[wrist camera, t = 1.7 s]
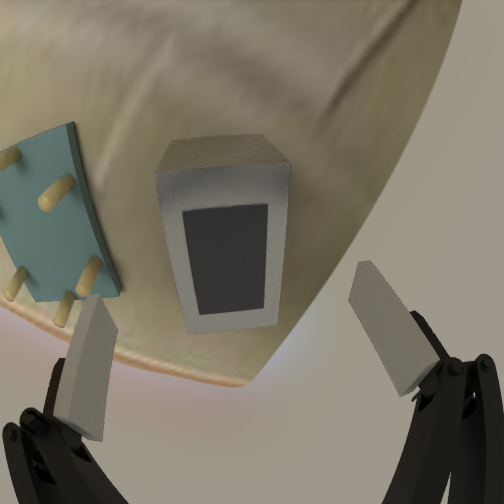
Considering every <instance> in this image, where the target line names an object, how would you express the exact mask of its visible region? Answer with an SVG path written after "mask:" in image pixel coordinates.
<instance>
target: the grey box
mask: <svg viewBox="0 0 504 504" xmlns="http://www.w3.org/2000/svg"><path fill="white" fill-rule="evenodd" d="M290 167H291V163H290V162H289V161H288V160H287V159H286V158H285V157H284V156H283V155H282V154H281V153H280V152H279V151H278V150H277V149H276V148H275V147H274V146H273V145H272V144H271V143H270V142H269V141H268V140H267V139H266V138H265V137H264V136H263V135H262V134H250V135H227V136H212V137H199V138H189V139H179V140H172V141H171V143H170V145H169V146H168V148H167V150H166V152H165V154H164V156H163V158H162V160H161V161H160V163H159V165H158V167H157V169H156V171H155V179H156V185H157V192H158V198H159V204H160V210H161V216H162V221H163V227H164V232H165V237H166V242H167V247H168V252H169V257H170V261H171V266H172V270H173V275H174V279H175V283H176V287H177V292H178V296H179V300H180V304H181V307H182V311H183V315H184V319H185V323H186V326H187V330H188V333H189V335H190V334H202V333H213V332H224V331H233V330H242V329H250V328H258V327H266V326H273V325H277V321H278V312H279V302H280V293H281V282H282V272H283V261H284V250H285V238H286V225H287V212H288V198H289V184H290Z"/></svg>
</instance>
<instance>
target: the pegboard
mask: <svg viewBox="0 0 504 504" xmlns="http://www.w3.org/2000/svg"><path fill="white" fill-rule="evenodd" d="M0 235H1V237H2V240H3V242H4V244H5V246H6V248H7V251H8V253H9V255H10V257H11V259H12V261H13V263H14V265H15V267H16V269H17V271H16V273H15V274H14V276H13V278H12V279H11V281H10V283H9V284H8V286H7V288H6V289H5V291H4V293H3V294H4V297H5V298H6V299H7V300H8V301H10V302H13V301H14V299H15V297H16V295H17V293H18V291H19V289H20V288H21V286H22V284H23V282H24V283H25V285H26V287H27V288H28V290H29V292H30V293H31V295H32V297H33V298H34V300H35V301H36V302H49V301H61V302H60V304H59V307H58V309H57V312H56V314H55V317H54V319H53V322H54V324H55V325H56V326H58V327H60V328H64V327H65V324H66V322H67V319H68V316H69V313H70V311H71V308H72V305H73V303H74V300H80V299H86V296H87V295H90V294H100V296H101V298H106V297H118V296H120V292H121V288H122V287H121V284H120V282H119V279H118V277H117V275H116V272H115V270H114V267H113V264H112V262H111V259H110V257H109V254H108V251H107V248H106V246H105V243H104V240H103V237H102V234H101V231H100V228H99V225H98V222H97V219H96V216H95V213H94V209H93V206H92V202H91V199H90V195H89V192H88V188H87V184H86V180H85V177H84V172H83V168H82V164H81V160H80V155H79V150H78V145H77V140H76V135H75V129H74V123H73V122H70V123H67V124H64V125H62V126H59V127H56V128H53V129H51V130H48V131H45V132H43V133H40V134H38V135H35V136H33V137H31V138H28V139H26V140H24V141H22V142H19V143H17V144H15V145H13V146H11V147H9V148H7V149H5V150H3V151H1V152H0Z"/></svg>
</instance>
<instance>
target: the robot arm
mask: <svg viewBox="0 0 504 504" xmlns="http://www.w3.org/2000/svg"><path fill="white" fill-rule="evenodd" d="M348 301H349V303H350V304H351V306H352V308H353V309H354V311H355V313H356V315H357V317H358V318H359V320H360V322H361V324H362V326H363V327H364V329H365V331H366V333H367V335H368V336H369V338H370V340H371V342H372V344H373V345H374V348H375V349H376V351H377V353H378V355H379V357H380V359H381V361H382V363H383V365H384V367H385V369H386V370H387V372H388V374H389V376H390V378H391V380H392V382H393V384H394V386H395V388H396V390H397V392H398V394H399V397H402V396H404V395H406V394H409V393H410V392H413V391H414V389H415V388H416V387H417V386H419V388H420V390H419V392H418V393H417V394H416V395H415V396H414V397H413V398H412V400H411V401H414V400H415V399H416V398H417V401H416V406H415V410H414V414H413V418H412V422H411V425H410V429H409V432H408V436H407V439H406V442H405V445H404V449H403V452H402V455H401V458H400V460H399V463H398V466H397V469H396V471H395V474H394V476H393V479H392V481H391V484H390V486H389V488H388V491H387V493H386V495H385V498H384V500H383V502H382V504H440V503H441V500H442V498H443V495H444V492H445V489H446V486H447V482H448V479H449V476H450V472H451V477H450V487H449V496H448V504H504V412H503V404H502V397H501V391H500V386H499V380H498V376H497V371H496V366H495V363H494V361H493V359H492V358H491V357H490V356H489V355H487V354H480V355H479V356H478V357H477V358H476V360H475V361H469V362H462V361H461V360H460V359H457V358H455V357H450V356H449V355H448V353H447V352H446V350H445V349H444V347H443V346H442V344H441V343H440V341H439V340H438V338H437V337H436V335H435V334H434V333H433V331H432V329H431V328H430V327H429V326H428V323H427V322H426V321H425V319H424V318H423V317H422V316H421V315H420V314H419V313H417V312H416V311H415V310H414V311H411V312H409V311H408V310H407V308H406V307H405V306H404V304H403V303H402V301H401V300H400V299H399V297H398V296H397V295H396V293H395V292H394V290H393V289H392V288H391V286H390V285H389V284H388V282H387V281H386V280H385V279H384V277H383V276H382V274H381V273H380V272H379V271H378V269H377V268H376V267H375V265H374V264H373V263H372V262H371V261H363V262H358V266H357V270H356V274H355V277H354V281H353V285H352V289H351V292H350V296H349V299H348ZM117 333H118V329H117V327H116V325H115V323H114V321H113V319H112V318H111V316H110V314H109V312H108V310H107V308H106V306H105V304H104V302H103V300H102V298H101V296H100V294H90V295H87V296H86V299H85V301H84V304H83V307H82V309H81V312H80V315H79V318H78V321H77V324H76V327H75V330H74V333H73V336H72V339H71V342H70V346H69V349H68V352H67V356H66V358H59V360H58V361H57V363H56V364H55V366H54V368H53V371H52V375H51V377H52V378H51V379H50V383H49V385H50V386H49V387H48V392H47V396H46V400H45V405H44V410H43V414H42V413H41V412H39V411H38V410H37V409H35V408H31V407H30V408H27V409H25V410H24V411H23V412H22V414H21V416H20V423H19V424H20V427H19V426H18V425H16V424H15V423H13V422H9V423H7V424H6V425H5V427H4V428H3V432H2V433H3V434H2V437H3V443H4V449H5V454H6V459H7V464H8V468H9V472H10V475H11V480H12V483H13V487H14V490H15V493H16V496H17V499H18V502H19V504H128V502H127V501H126V500H125V499H124V497H123V496H122V495H121V494H120V493H119V492H118V490H117V489H116V488H115V487H114V485H113V484H112V483H111V482H110V480H109V479H108V478H107V476H106V475H105V474H104V472H103V471H102V469H101V468H100V467H99V465H98V464H97V462H96V461H95V460H94V458H93V457H92V455H91V454H90V452H89V450H88V449H87V447H86V446H85V444H84V443H83V442H82V441H81V439H82V436H83V437H85V438H86V439H88V440H93V441H100V442H103V429H104V418H105V408H106V399H107V391H108V384H109V377H110V371H111V365H112V359H113V353H114V348H115V343H116V338H117ZM474 392H475V397H474V395H473V393H474Z"/></svg>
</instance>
